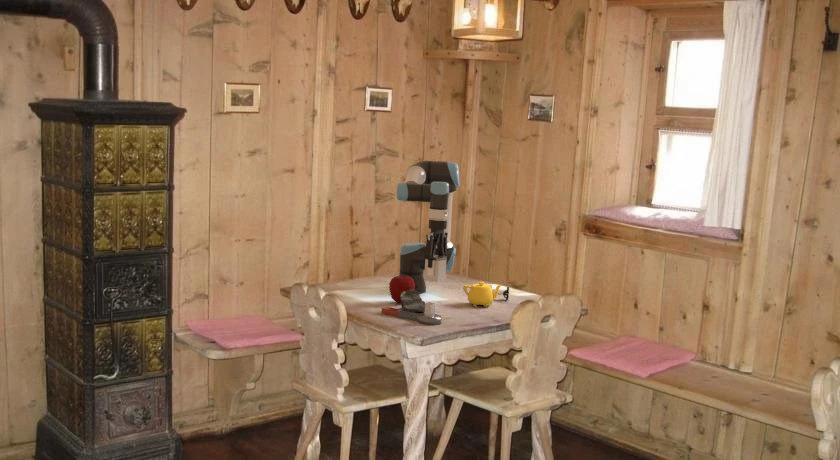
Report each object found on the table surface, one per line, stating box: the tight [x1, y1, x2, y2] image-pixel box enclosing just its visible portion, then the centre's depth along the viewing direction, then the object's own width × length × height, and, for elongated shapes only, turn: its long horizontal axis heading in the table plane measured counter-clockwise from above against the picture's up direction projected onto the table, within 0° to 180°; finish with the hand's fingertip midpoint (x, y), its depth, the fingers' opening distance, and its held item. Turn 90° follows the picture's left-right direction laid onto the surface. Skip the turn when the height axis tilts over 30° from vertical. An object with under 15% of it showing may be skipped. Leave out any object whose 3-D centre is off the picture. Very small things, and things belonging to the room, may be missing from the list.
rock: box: [400, 290, 426, 314], centre depth 369 cm, size 14×11×10 cm
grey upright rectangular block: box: [423, 255, 447, 283], centre depth 351 cm, size 6×6×10 cm
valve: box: [489, 284, 510, 301], centre depth 401 cm, size 7×7×12 cm
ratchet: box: [380, 301, 443, 326], centre depth 356 cm, size 28×10×8 cm, turn 58°
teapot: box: [462, 281, 503, 308], centre depth 387 cm, size 18×11×11 cm, turn 87°
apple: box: [388, 275, 415, 305], centre depth 383 cm, size 12×12×13 cm
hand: (435, 274), depth 352 cm, fingers closed on grey upright rectangular block, 6 cm apart
